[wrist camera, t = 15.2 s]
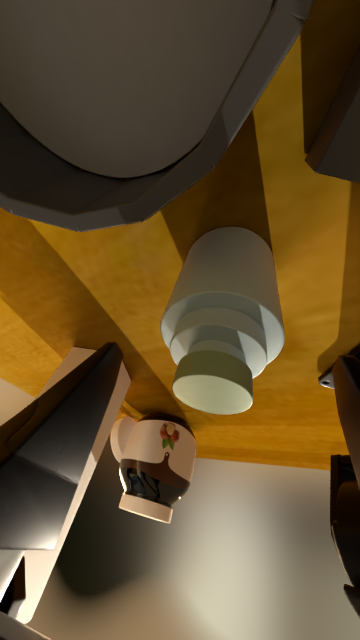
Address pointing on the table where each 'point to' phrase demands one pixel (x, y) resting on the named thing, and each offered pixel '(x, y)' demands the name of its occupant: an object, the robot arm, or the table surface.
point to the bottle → (223, 320)
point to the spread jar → (153, 463)
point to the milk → (44, 560)
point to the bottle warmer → (127, 99)
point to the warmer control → (340, 131)
